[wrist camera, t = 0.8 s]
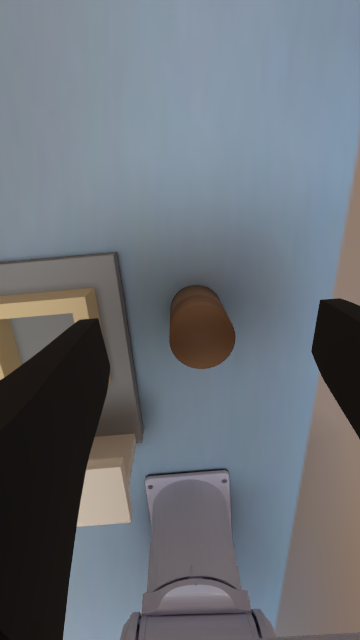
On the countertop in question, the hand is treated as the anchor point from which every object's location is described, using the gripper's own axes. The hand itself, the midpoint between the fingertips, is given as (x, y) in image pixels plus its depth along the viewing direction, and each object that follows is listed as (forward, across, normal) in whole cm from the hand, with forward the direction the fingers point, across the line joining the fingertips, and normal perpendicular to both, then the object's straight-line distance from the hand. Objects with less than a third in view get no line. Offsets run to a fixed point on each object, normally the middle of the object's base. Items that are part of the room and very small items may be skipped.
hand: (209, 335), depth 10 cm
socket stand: (+12, +11, +9) cm, 19 cm away
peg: (+13, 0, +6) cm, 14 cm away
